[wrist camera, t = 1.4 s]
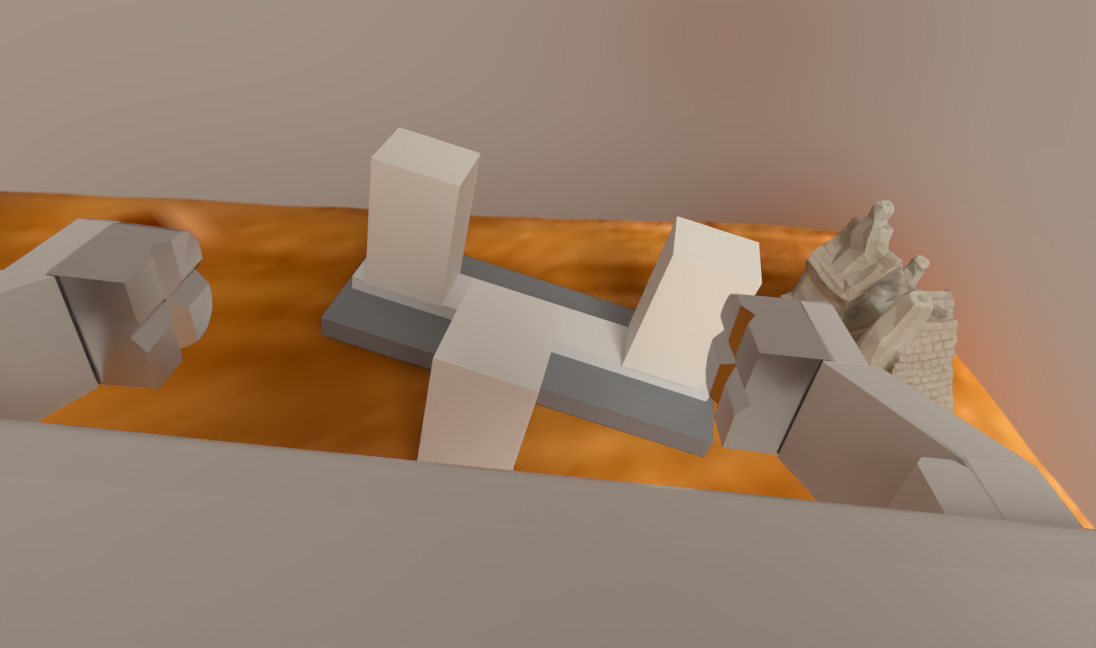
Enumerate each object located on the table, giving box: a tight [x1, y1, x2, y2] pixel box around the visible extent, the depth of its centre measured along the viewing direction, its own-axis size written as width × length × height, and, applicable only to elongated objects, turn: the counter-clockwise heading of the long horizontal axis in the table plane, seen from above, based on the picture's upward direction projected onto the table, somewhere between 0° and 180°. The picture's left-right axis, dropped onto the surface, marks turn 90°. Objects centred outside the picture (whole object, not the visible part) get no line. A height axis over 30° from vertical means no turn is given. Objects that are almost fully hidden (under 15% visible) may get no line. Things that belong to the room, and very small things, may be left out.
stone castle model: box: [780, 200, 959, 414], centre depth 42 cm, size 16×16×15 cm
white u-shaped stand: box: [321, 127, 762, 457], centre depth 39 cm, size 25×10×12 cm, turn 78°
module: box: [417, 278, 564, 470], centre depth 31 cm, size 4×6×11 cm
